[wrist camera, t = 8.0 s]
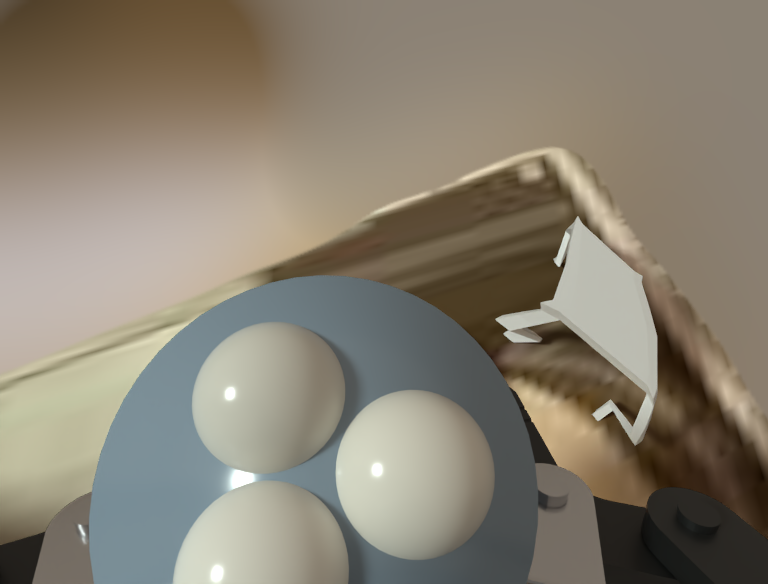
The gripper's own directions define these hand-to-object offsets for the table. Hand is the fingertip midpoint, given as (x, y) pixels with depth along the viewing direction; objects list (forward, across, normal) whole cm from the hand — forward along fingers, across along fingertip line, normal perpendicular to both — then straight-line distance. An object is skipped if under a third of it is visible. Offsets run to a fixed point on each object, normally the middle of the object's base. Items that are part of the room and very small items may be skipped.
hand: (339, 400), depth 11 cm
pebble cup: (+2, 0, +4) cm, 5 cm away
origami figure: (+15, -13, +7) cm, 22 cm away
